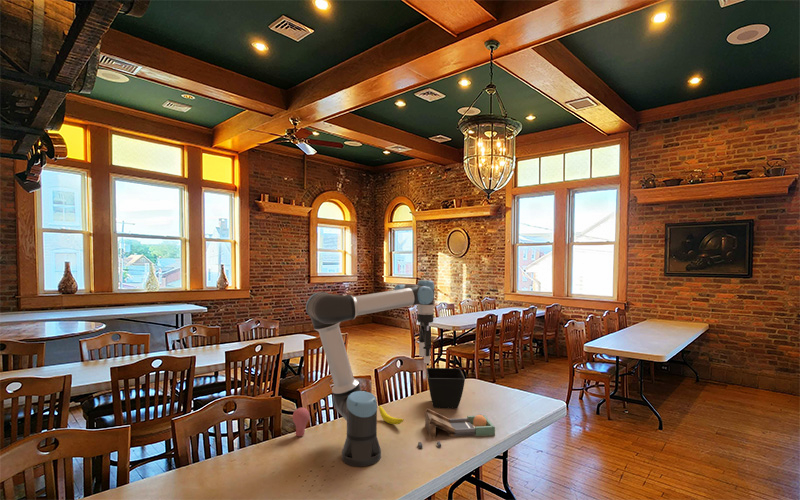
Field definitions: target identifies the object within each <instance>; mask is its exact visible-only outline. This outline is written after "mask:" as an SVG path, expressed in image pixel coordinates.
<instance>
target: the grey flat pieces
mask: <svg viewBox="0 0 800 500" xmlns="http://www.w3.org/2000/svg"><path fill="white" fill-rule="evenodd" d="M417 443H418V444H417V446H418V448H419V449H423V443H422V442H421V441H418V442H417ZM436 445H437V447H438V449H439V448H440V449H441V448H442V443H441V441H439V440H437V441H436Z"/></svg>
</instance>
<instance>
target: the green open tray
mask: <svg viewBox="0 0 800 500" xmlns="http://www.w3.org/2000/svg"><path fill="white" fill-rule="evenodd" d="M481 415H482V416H484V417H485V418H486V421H487V424H486V426H479V427H475V426H474V423H473V420H474V417H475V416H476V415H467V416H466V418H468V419H470V423H471V424H472V426H473V427H474V428H475V435H474V436H475V437H480V436H482V437H483V436H495V435H496V427H495V425H494V424H493V423H492V422H491V420H490V419H489V418H488V417H487V416H486V414H481Z"/></svg>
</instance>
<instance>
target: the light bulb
mask: <svg viewBox="0 0 800 500" xmlns="http://www.w3.org/2000/svg"><path fill="white" fill-rule="evenodd" d="M309 419H310V412H309V410H308V409H307V408H306V407H298V408H297V409H295V410H294V412H293V414H292V421H293V424H294V425H295V436H296V437H304V435H305V429H306V426H307V424H308V422H309Z"/></svg>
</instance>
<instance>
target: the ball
mask: <svg viewBox="0 0 800 500" xmlns="http://www.w3.org/2000/svg"><path fill="white" fill-rule="evenodd" d="M482 415H483V414H477V415H474V416H475V417H474V420H473V423H474V426H475V427H479V426H486V424H487V421H486V418H485V417H484V416H482Z"/></svg>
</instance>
